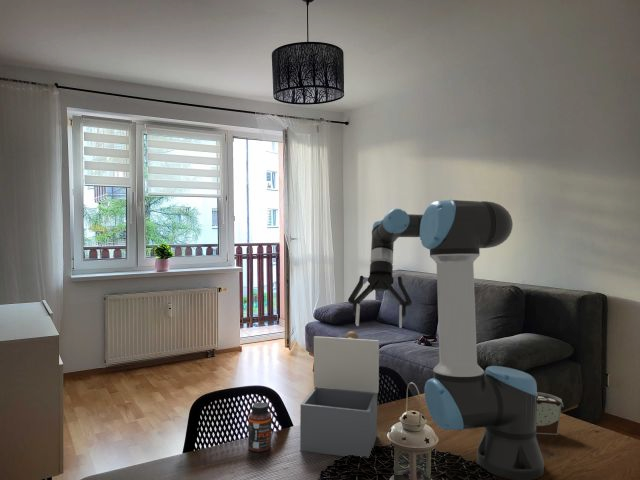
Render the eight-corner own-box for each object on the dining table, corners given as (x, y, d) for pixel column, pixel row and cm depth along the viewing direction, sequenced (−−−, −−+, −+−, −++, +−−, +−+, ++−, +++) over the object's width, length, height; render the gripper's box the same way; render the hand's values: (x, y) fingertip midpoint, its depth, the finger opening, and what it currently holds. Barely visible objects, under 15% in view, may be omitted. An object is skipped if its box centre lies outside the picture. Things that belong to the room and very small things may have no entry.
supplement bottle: (259, 455, 118) (260, 411, 118) (243, 448, 121) (243, 405, 121) (275, 446, 123) (276, 404, 122) (259, 440, 126) (259, 399, 126)
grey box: (376, 435, 129) (377, 393, 129) (369, 459, 116) (369, 411, 116) (314, 428, 134) (314, 387, 134) (300, 450, 120) (300, 404, 120)
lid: (378, 392, 129) (383, 379, 140) (378, 341, 128) (383, 331, 139) (313, 386, 134) (323, 374, 145) (313, 336, 133) (323, 327, 144)
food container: (554, 425, 137) (554, 392, 137) (563, 435, 131) (563, 399, 131) (511, 423, 138) (511, 390, 138) (517, 432, 132) (518, 397, 132)
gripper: (419, 269, 156) (419, 330, 147) (346, 268, 162) (341, 327, 152) (419, 259, 150) (418, 323, 140) (343, 258, 155) (337, 320, 146)
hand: (378, 325), depth 146 cm, fingers open, 13 cm apart
